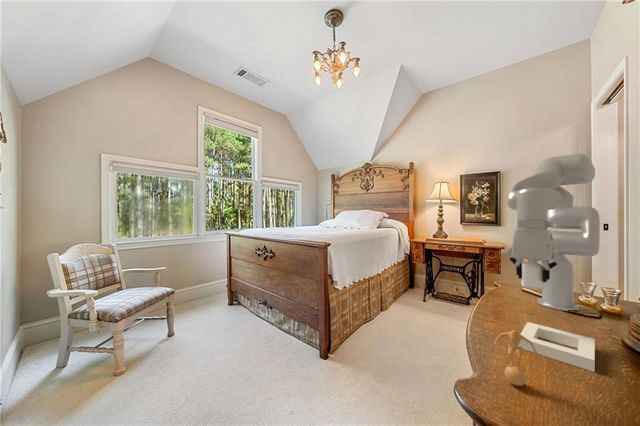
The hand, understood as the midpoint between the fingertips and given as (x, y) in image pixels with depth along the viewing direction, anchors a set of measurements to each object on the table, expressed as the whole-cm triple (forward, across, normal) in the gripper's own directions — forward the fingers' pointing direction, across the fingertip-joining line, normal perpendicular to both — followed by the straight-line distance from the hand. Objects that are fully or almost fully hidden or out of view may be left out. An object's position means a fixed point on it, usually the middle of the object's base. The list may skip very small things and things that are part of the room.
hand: (532, 279), depth 81 cm
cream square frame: (+18, -6, +7) cm, 20 cm away
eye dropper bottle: (+3, 0, 0) cm, 3 cm away
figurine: (+18, -2, +33) cm, 38 cm away
